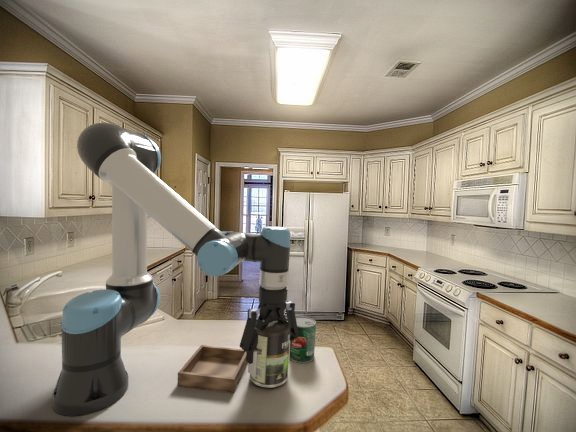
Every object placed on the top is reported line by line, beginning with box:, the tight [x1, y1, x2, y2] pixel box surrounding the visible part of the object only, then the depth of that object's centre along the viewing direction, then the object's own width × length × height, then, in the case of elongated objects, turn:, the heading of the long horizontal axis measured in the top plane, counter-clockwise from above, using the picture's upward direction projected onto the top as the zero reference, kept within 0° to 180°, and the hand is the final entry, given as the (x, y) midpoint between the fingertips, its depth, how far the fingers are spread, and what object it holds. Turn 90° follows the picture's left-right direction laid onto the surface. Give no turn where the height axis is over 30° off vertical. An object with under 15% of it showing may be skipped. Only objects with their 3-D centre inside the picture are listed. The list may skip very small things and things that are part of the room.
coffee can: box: [249, 320, 291, 389], centre depth 80 cm, size 10×10×14 cm
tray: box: [177, 344, 248, 394], centre depth 82 cm, size 15×15×4 cm
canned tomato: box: [289, 316, 317, 364], centre depth 92 cm, size 8×8×11 cm
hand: (269, 367), depth 80 cm, fingers closed on coffee can, 10 cm apart
